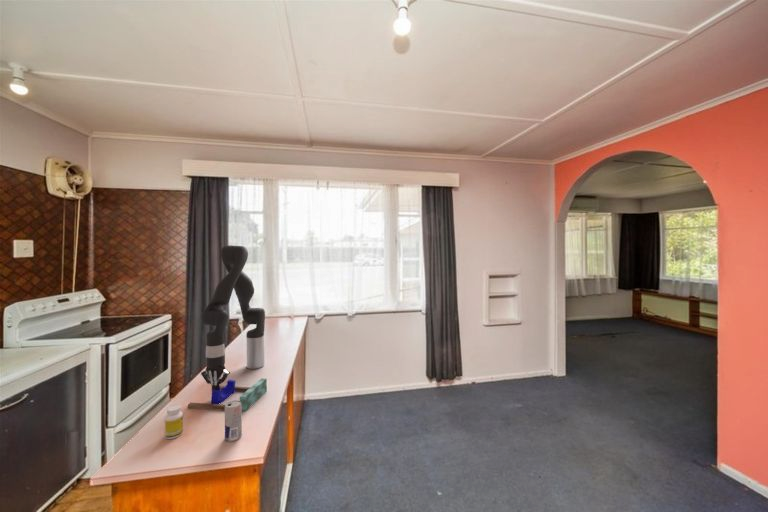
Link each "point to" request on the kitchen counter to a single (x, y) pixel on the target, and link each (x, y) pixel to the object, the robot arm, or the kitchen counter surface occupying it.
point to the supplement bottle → (173, 422)
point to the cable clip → (223, 392)
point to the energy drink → (233, 421)
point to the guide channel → (246, 398)
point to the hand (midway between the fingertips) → (215, 392)
